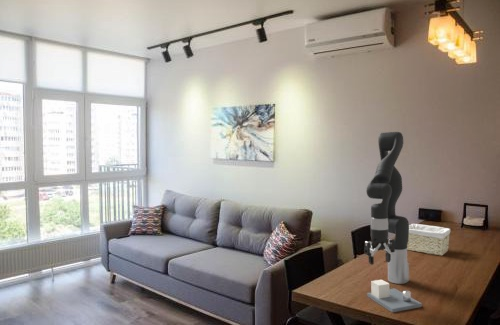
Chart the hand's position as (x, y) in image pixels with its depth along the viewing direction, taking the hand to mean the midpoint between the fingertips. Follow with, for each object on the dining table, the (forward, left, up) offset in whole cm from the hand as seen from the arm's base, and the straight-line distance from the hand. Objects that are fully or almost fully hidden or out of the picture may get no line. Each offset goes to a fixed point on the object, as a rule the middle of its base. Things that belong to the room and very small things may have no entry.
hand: (379, 262), depth 173 cm
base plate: (-4, +5, -17) cm, 17 cm away
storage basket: (-71, -50, -17) cm, 89 cm away
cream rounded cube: (0, 0, -15) cm, 15 cm away
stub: (-7, +9, -15) cm, 19 cm away
